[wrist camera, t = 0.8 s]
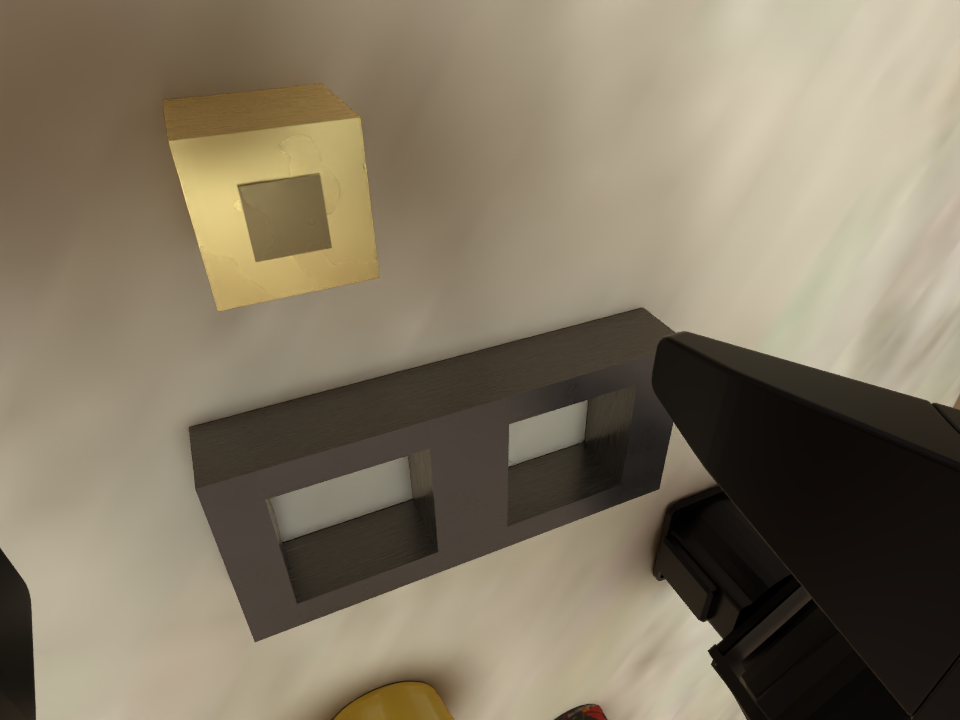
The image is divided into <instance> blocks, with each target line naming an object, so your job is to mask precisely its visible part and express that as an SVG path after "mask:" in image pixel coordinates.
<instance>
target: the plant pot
mask: <svg viewBox="0 0 960 720" xmlns="http://www.w3.org/2000/svg"><path fill="white" fill-rule="evenodd" d="M333 720H454V719H453V717H452V716H451V714H450V713H449V711H448V709H447V708H446V706H445V705H444V703H443V701H442V700H441V698H440V697H439V695H438V694H437V692H436V691H435V689H434V688H432V687H431V686H429V685H427V684H424V683H421V682H401V683H395V684H391V685H387V686H384V687H381V688H379V689H376V690H374V691H372V692H369V693H367V694H365V695H364V696H362V697H360V698H358V699H357V700H355V701H353V702H352V703H351V704H349V705H348V706H347V707H345V708H344V709H343V710H342V711H341V712H340V713H339V714H338V715H337V716H336V717H335V718H334V719H333Z"/></svg>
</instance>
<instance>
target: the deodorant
mask: <svg viewBox="0 0 960 720" xmlns="http://www.w3.org/2000/svg"><path fill="white" fill-rule="evenodd" d="M555 720H607V718H606V716H605V714H604V713H603V711H602V709H601V708H600V706H598V705H596V704H587V705H583V706H579V707H577V708H574V709H572V710H570V711H568V712H566V713H564V714H563V715H561V716H560V717H558V718H557V719H555Z"/></svg>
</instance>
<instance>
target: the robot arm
mask: <svg viewBox="0 0 960 720" xmlns="http://www.w3.org/2000/svg"><path fill="white" fill-rule="evenodd" d="M651 383H652V388H653V390H654V393H655V395H656V396H657V398H658V399H659V401H660V402H661V404H662V405H663V407H664V408H665V410H666V411H667V413H668V414H669V416H670V417H671V419H672V420H673V422H674V423H675V425H676V426H677V428H678V429H679V431H680V432H681V434H682V435H683V437H684V438H685V440H686V441H687V443H688V444H689V446H690V447H691V449H692V450H693V452H694V453H695V455H696V456H697V458H698V459H699V460H700V462H701V463H702V465H703V466H704V467H705V469H706V470H707V471H708V473H709V474H710V475H711V476H712V478H713V479H714V480H715V481H716V483H717V484H718V485H719V487H716V488H714V489H711V490H709V491H706V492H704V493H701V494H698V495H696V496H693V497H691V498H688V499H686V500H683V501H681V502H678V503H675V504H674V505H672V506H671V507H670V508H669V509H668V511H667V514H666V518H665V522H664V527H663V531H662V536H661V540H660V544H659V549H658V553H657V558H656V562H655V567H654V571H653V575H654V577H655V578H656V579H657V580H658V581H662V580H664V579H666V580H667V581H668V582H669V584H670V585H671V586H672V587H673V589H674V590H675V591H676V592H677V594H678V595H679V596H680V597H681V599H682V600H683V601H684V602H685V604H686V605H687V606H688V607H689V609H690V610H691V611H692V612H693V614H694V615H695V616H696V617H697V619H698V620H700V621H702V622H705V621H707V620H708V621H709V623H710V624H711V625H712V626H713V628H714V629H715V630H716V631H717V632H718V634H719V635H720V636H721V637H722V639H723V640H722V641H721V642H719V643H718V644H717V645H716V644H714V645H713V646H712V647H711V648H710V649H709V650H708V652H709V654H710V655H711V657H712V658H713V661H712V663H711V665H712V667H713V668H714V669H715V670H716V672H717V673H718V674H719V676H720V677H721V678H722V679H723V681H724V682H725V683H726V685H727V686H728V688H729V689H730V691H731V692H732V694H733V695H734V697H735V699H736V701H737V702H738V704H739V706H740V708H741V710H742V712H743V713H744V715H745V717H746V719H747V720H960V410H958V409H955V408H952V407H948V406H945V405H941V404H938V403H932V404H931V403H930V402H929V401H927V400H923V399H920V398H916V397H913V396H910V395H906V394H903V393H899V392H896V391H892V390H889V389H885V388H882V387H878V386H875V385H871V384H868V383H864V382H861V381H857V380H854V379H850V378H847V377H843V376H840V375H836V374H833V373H829V372H826V371H822V370H819V369H815V368H812V367H808V366H805V365H802V364H798V363H795V362H791V361H788V360H784V359H781V358H777V357H774V356H770V355H767V354H763V353H760V352H756V351H753V350H749V349H746V348H742V347H739V346H735V345H732V344H728V343H725V342H721V341H718V340H714V339H711V338H707V337H704V336H701V335H697V334H694V333H690V332H686V331H682V332H677V333H674V334H671V335H667V336H664V337H663V338H661V339H660V341H659V342H658V344H657V348H656V354H655V360H654V365H653V371H652V377H651ZM0 720H36V702H35V679H34V657H33V634H32V611H31V598H30V594H29V590H28V588H27V585H26V583H25V582H24V580H23V579H22V577H21V576H20V575H19V573H18V572H17V570H16V569H15V568H14V566H13V565H12V564H11V562H10V561H9V559H8V558H7V557H6V555H5V554H4V552H3V551H2V550H1V548H0Z"/></svg>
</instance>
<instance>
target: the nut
mask: <svg viewBox="0 0 960 720" xmlns="http://www.w3.org/2000/svg"><path fill="white" fill-rule="evenodd" d="M162 101H163V108H164V115H165V122H166V129H167V136H168V142H169V145H170V149H171V152H172V156H173V159H174V163H175V166H176V169H177V173H178V176H179V180H180V183H181V187H182V190H183V193H184V197H185V200H186V204H187V207H188V211H189V214H190V217H191V221H192V224H193V228H194V231H195V235H196V238H197V242H198V245H199V248H200V252H201V255H202V259H203V262H204V266H205V269H206V272H207V276H208V279H209V283H210V286H211V290H212V293H213V296H214V300H215V303H216V307H217V310H218V311H222V310H227V309H232V308H236V307H241V306H246V305H251V304H255V303H260V302H265V301H270V300H275V299H279V298H284V297H289V296H294V295H298V294H303V293H308V292H313V291H318V290H322V289H327V288H332V287H337V286H341V285H346V284H351V283H356V282H361V281H365V280H370V279H375V278H379V270H378V261H377V253H376V245H375V236H374V228H373V219H372V211H371V202H370V194H369V185H368V177H367V168H366V160H365V151H364V143H363V135H362V126H361V118H360V117H359V116H358V115H357V114H356V113H355V112H354V111H352V110H351V109H350V108H349V107H348V106H347V105H346V104H345V103H343V102H342V101H341V100H340V99H339V98H338V97H337V96H335V95H334V94H333V93H332V92H331V91H330V90H329V89H327V88H326V87H325V86H324V85H323V84H314V85H305V86H295V87H286V88H276V89H266V90H257V91H247V92H237V93H228V94H218V95H209V96H199V97H189V98H180V99H170V100H162Z"/></svg>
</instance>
